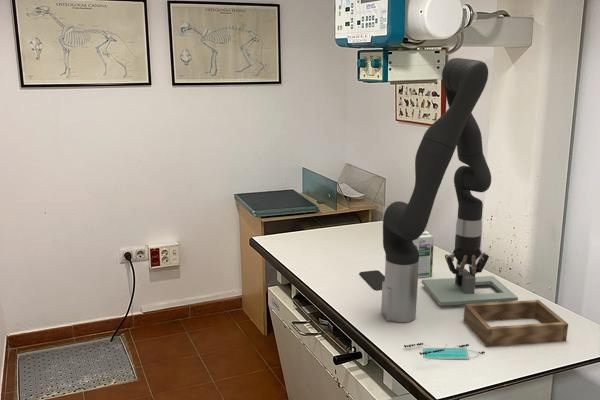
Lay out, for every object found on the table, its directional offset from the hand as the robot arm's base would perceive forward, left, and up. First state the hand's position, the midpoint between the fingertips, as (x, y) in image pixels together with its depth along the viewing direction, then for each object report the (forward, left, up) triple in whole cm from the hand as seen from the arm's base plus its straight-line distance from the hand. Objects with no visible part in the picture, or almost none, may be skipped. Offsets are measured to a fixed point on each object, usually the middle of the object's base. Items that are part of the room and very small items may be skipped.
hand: (464, 285), depth 183 cm
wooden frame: (+4, -24, -3) cm, 25 cm away
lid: (+1, 0, -2) cm, 3 cm away
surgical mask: (-19, -33, -4) cm, 38 cm away
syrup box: (-8, +18, -4) cm, 20 cm away
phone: (-24, +15, -4) cm, 28 cm away
